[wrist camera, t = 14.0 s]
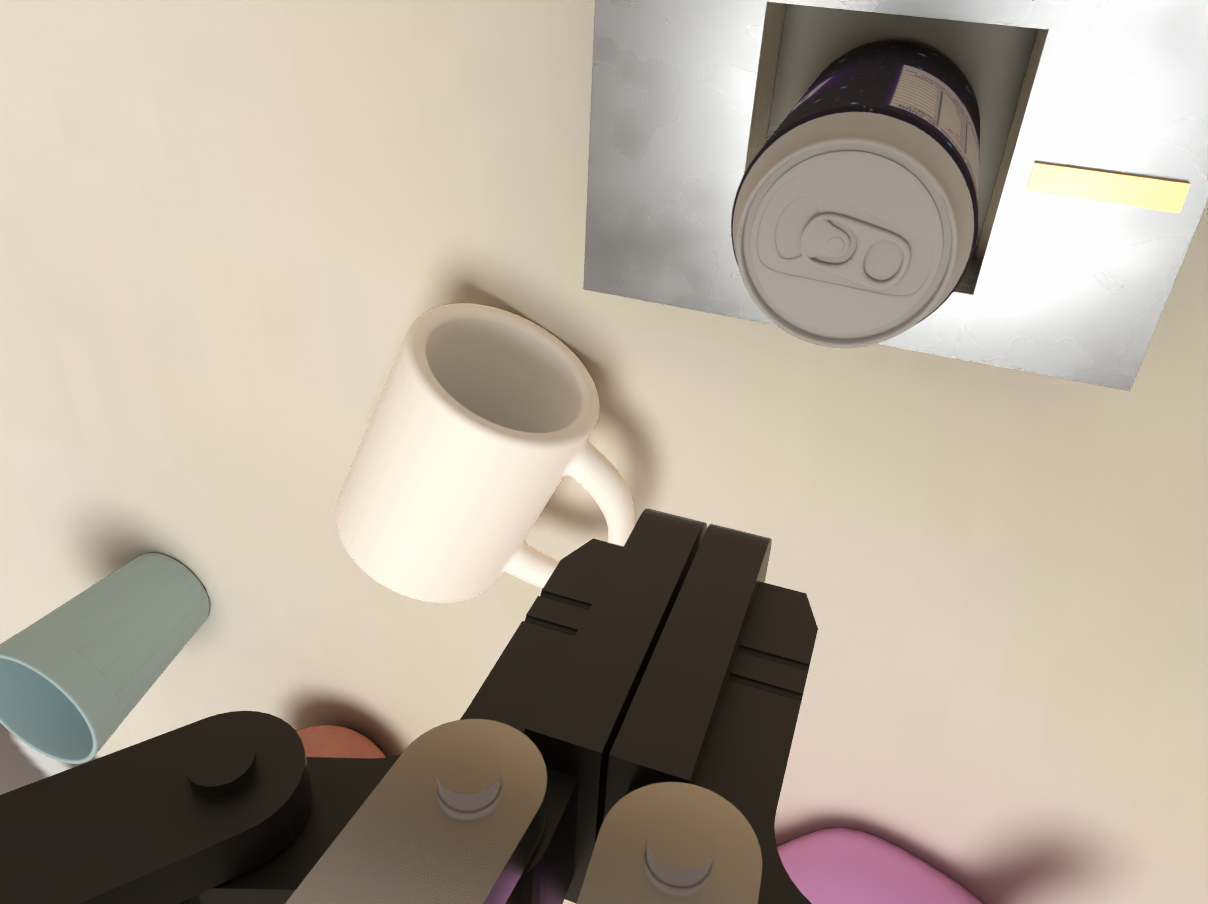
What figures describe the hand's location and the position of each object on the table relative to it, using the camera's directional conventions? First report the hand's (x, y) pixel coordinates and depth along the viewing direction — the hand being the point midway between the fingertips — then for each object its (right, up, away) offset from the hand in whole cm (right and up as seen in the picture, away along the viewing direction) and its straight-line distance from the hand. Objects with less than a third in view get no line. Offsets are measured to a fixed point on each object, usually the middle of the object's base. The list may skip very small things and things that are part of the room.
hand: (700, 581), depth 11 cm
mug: (-4, +2, +31) cm, 31 cm away
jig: (+8, +12, +19) cm, 24 cm away
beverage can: (+8, +12, +20) cm, 25 cm away
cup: (-27, -7, +46) cm, 54 cm away
